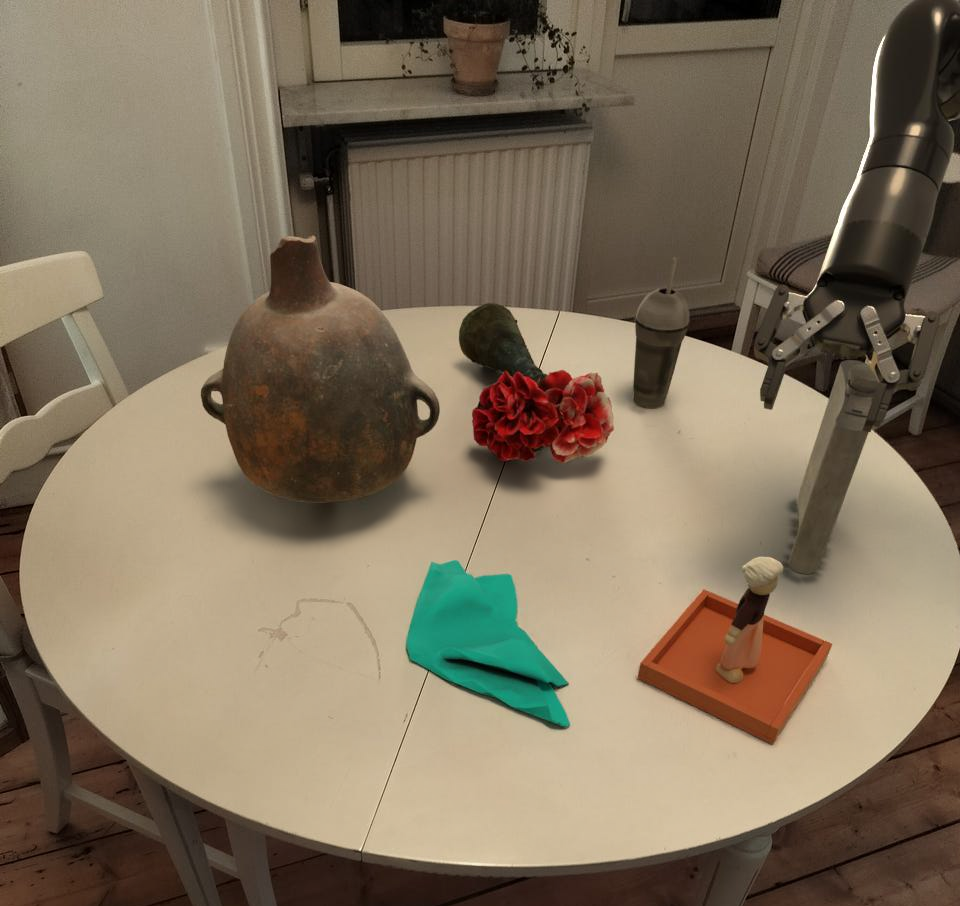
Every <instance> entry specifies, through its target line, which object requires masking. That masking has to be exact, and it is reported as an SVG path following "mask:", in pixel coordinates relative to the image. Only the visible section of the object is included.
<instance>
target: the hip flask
mask: <svg viewBox="0 0 960 906" xmlns="http://www.w3.org/2000/svg"><path fill="white" fill-rule="evenodd" d="M877 386H878V381H877V378H876V376H875V373H874V372H873V371H872V370H871V368H870V365H869V363H866V362H864V361H861V360H857V359H846V360H843V361H841V362H840V364H839V367H838V370H837V373H836V376H835V379H834V382H833V386H832V389H831V391H830V395H829V398H828V401H827V404H826V406H825V410H824V413H823V416H822V420H821V422H820V426H819V428H818V432H817V435H816V438H815V441H814V444H813V447H812V451H811V454H810V457H809V460H808V462H807V465H806V469H805V472H804V475H803V477H802V481H801V485H800V488H799V490H798V494H797V497H796V500H795V503H796V507H797V512H798V530H797V534H796V537H795V540H794V543H793V545H792V549H791V551H790V554H789V558H788V560H787V564H788V567H789V568H790V569H791V570H793V571H794V572H796V573H798V574H801V575H802V574H803V575H811V574H814V573H816V572H818V569H819V567H820V566H821V563H822V560H823V558H824V556H825V553H826V550H827V547H828V544H829V542H830V539H831V536H832V533H833V530H834V528H835V525H836V522H837V520H838V517H839V515H840V512H841V509H842V506H843V503H844V500H845V498H846V495H847V493H848V490H849V487H850V484H851V482H852V479H853V476H854V473H855V471H856V468H857V465H858V463H859V459H860V458H861V454H862V452H863V449H864V446H865V445H866V442H867V441H866V440H867V438H868V435H869V433H870V432H866V431H862V430H863V427H864V424H865V421H866V418H867V415H868V412H869V409H870V406H871V403H872V401H873V398H874V395H875V392H876V389H877Z"/></svg>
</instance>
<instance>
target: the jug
mask: <svg viewBox="0 0 960 906" xmlns="http://www.w3.org/2000/svg"><path fill="white" fill-rule="evenodd" d="M269 261H270V265H269V266H270V289H269V291H267V292H266V293H264V294H262V295H261V296H259V297H258V298H256V299H255V300H253V302H252V303H251V304H249V305H248V306H247V307H246V309H244V311H243V312H242V314H241V315H240V316H239V318H238V319H237V321H236V324H235V326H234V328H233V329H232V332H231V334H230V337H229V340H228V343H227V346H226V351H225V355H224V359H223V367H222V368H221V369H220V370H218V371H217V372H215V373H213V374H211V375H210V376H209V377H208V378H207V379H206V380H205V382H204V383H203V385H202V387H201V389H200V399H201V403H202V407H203V409H204V411H205V412H206V413H207V414H208V415H209V416H210V417H212V418H213V419H215V420H217V421H219V422H221V423H222V424H224V426H225V429H226V433H227V437H228V441H229V444H230V446H231V450H232V451H233V455H234V457H235V460H236V463H237V464H238V466H239V468H240V470H241V472H242V473H243V474H244V476H245V477H246V478H247V479H248V481H250V482H251V483H252V484H253V485H254V486H256V487H257V488H258V489H260V490H262V491H264V492H265V493H268V494H270V495H273V496H275V497H278V498H282V499H285V500H289V501H293V502H300V503H307V504H308V503H309V504H320V503H322V504H323V503H325V504H326V503H327V504H328V503H336V502H345V501H350V500H355V499H360V498H365V497H367V496H370V495H373V494H377V493H378V492H380V491H382V490H384V489H386V488H387V487H389V486H391V484H394V483H395V482H396V481H397V480H398V479H399V478H400V477H401V476H402V474H404V472H405V471H406V470H407V468H408V466H409V465H410V462H411V460H412V458H413V455H414V452H415V448H416V445H417V439H419V438H420V437H423V436H425V435H426V434H428V433H429V432H430V431H432V430H433V428H435V426H436V425H437V423H438V421H439V417H440V412H441V407H440V402H439V399H438V397H437V394H436V392H435V391H434V390H433V389H432V388H431V386H429V385H428V383H426V382H425V381H424V380H422V379H421V378H420V377H419V376H417V374H416V373H415V372H414V370H413V368H412V366H411V363H410V361H409V358H408V356H407V354H406V351H405V349H404V347H403V345H402V342H401V340H400V338H399V337H398V334H397V332H396V330H395V328H394V326H393V325H392V324H391V322H390V320H389V319H388V317H387V316H386V315H385V313H384V312H383V311H382V310H381V309H380V308H379V306H377V304H375V302H374V301H372V300H371V299H370V298H368V297H367V296H366V295H364V294H363V293H361V292H359V291H357V290H355V288H354V289H353V288H351V287H348V286H346V285H343V284H341V283H337V282H332V281H330V280H329V279H328V276H327V275H326V272H325V270H324V267H323V264H322V260H321V256H320V252H319V246H318V240H317V237H316V236H315V235H311V236H310V235H309V236H308V237H307V238H302V237H298V236H292V235H289V236H284V237H282V238H281V239H280V241H279V243H278V245H277V246H276V248H275V249H274V251H272V252H271V253H270V254H269ZM212 392H219V394H220V395H221V400H222V403H219V402H217V401H216V400H214V399H213V397H212ZM418 401H421V402H423V403H424V404H425V405H426V406H427V408H428V409H429V416H428V418H425V419H421V418H420V416H419V408H418V407H419V406H418Z"/></svg>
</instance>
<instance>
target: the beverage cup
mask: <svg viewBox="0 0 960 906" xmlns="http://www.w3.org/2000/svg"><path fill="white" fill-rule="evenodd" d="M677 263H678V257H673V258H672V262H671V268H670V273H669V276H668V277H669V278H668V282H667V287H662V288H657V289H655V290H652V291H651V292H650V293H648V294H646V296H645V297H644V298H643V299H642V301H641V302H640V303H639V306H638V307H637V310H636V314H635V316H634V323H635V324H634V329H635V349H634V350H635V351H634V364H633V381H632V402H633V403H634V404H635V405H637V406H638V407H641V408H644V409H658V408H662V407H663V406H664V405H665V403H666V399H667V396H668V393H669V391H670V387H671V383H672V379H673V377H674V373H675V368H676V365H677V363H678V359H679V354H680V352H681V351H680V350H681V347H682V344H683V341H684V339H685V337H686V334H687V332H688V329H689V327H690V325H691V324H690V323H691V322H690V309H689V305H688V302H687V300H686V298H685V297H684V296H683V294H681V293H680V292H678V291H677V290H676V289H673V288H672V286H673V282H674V276H675V271H676V267H677Z"/></svg>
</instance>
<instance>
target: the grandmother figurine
mask: <svg viewBox="0 0 960 906" xmlns="http://www.w3.org/2000/svg"><path fill="white" fill-rule="evenodd" d="M741 570H742V572H743V573H744V579H745V582H746V583H747V586H748V587H747V589H746V590H745V592H744V593H743V595H742V596H741V598H740V600H739V602H738V606H737V609H736V614H735V615H736V616H735V618H734V620H733V622H732V624H731V627H730V629H729V631H728V634H727V635H726V636H725V638H724V640H725V642H726V644H727V646H726V648H725V650H724V652H723V655H722V658H721V663H719V664H718V665H717V666H716V667H715V670H716V672H717V673H718V674H719V675H720V676H722V677H723V678H724V679H725V680H726V681H728V682H730V683H739V682H740V681H742V680H743V677H744V676H743V672H742V670H741V669H742V668H753V667H755V666H757V665H758V663H759V658H760V653H761V646H762V632H763V615H765V611H766V608H767V605H768V602H769V600H770V594H771V593H773V592H774V591H775V590H776V588H777V586H778V583H779V576H781V575H782V574H783V572H784V565H783V563H782V562H780V561H779V560H777V559H775V558H773V557H770V556H758V557H754V558H752V559H751V560H750V561H748V562H747V563H745V564H743V565H742V567H741Z"/></svg>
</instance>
